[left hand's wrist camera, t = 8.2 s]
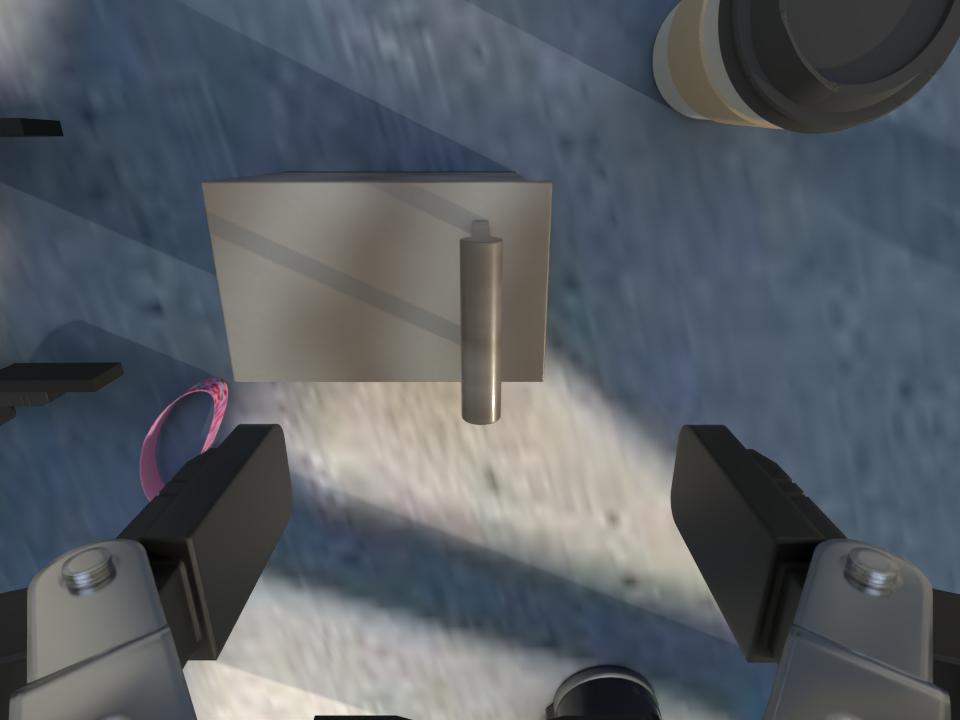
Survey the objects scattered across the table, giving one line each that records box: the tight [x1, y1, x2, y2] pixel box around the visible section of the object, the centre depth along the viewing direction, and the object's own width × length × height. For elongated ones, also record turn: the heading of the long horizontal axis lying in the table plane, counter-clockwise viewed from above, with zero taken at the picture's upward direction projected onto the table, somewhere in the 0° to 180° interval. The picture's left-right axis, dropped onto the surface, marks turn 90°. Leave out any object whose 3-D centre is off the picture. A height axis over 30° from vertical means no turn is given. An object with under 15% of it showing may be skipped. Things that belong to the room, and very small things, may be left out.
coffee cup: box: [653, 0, 960, 133], centre depth 26 cm, size 9×9×15 cm
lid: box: [201, 181, 552, 425], centre depth 23 cm, size 15×9×8 cm, turn 90°
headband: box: [140, 378, 228, 501], centre depth 40 cm, size 11×4×2 cm, turn 151°
